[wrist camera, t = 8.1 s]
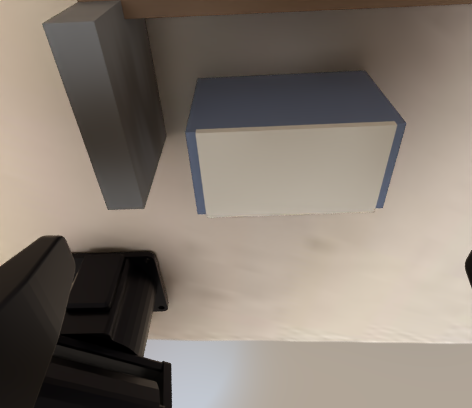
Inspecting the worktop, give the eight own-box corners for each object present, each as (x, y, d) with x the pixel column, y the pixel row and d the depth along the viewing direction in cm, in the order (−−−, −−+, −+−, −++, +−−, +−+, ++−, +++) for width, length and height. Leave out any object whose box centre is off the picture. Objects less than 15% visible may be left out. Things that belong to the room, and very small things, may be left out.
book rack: (556, 122, 19) (661, 193, 14) (138, 137, 19) (107, 209, 15) (660, -58, 14) (873, -40, 9) (98, -30, 14) (33, -1, 10)
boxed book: (351, 144, 20) (383, 211, 15) (206, 149, 20) (197, 218, 16) (364, 68, 17) (408, 124, 13) (197, 76, 17) (184, 133, 13)
